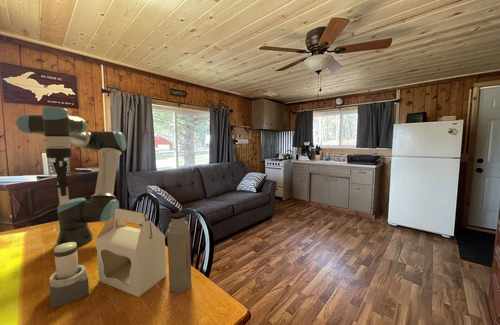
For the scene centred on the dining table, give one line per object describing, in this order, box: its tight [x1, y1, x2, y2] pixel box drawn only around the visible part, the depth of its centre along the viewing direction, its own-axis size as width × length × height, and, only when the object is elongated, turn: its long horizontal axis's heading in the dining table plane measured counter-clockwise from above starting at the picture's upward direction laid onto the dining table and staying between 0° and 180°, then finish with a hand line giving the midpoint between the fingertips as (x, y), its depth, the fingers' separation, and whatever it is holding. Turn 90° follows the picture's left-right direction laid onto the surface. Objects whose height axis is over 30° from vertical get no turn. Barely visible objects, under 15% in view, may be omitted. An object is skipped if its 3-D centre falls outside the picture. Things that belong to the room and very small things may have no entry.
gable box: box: [95, 207, 167, 298], centre depth 84 cm, size 22×13×28 cm, turn 67°
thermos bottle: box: [166, 212, 192, 294], centre depth 80 cm, size 8×8×28 cm
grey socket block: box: [48, 264, 90, 310], centre depth 77 cm, size 10×10×8 cm
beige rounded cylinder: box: [53, 242, 79, 280], centre depth 76 cm, size 6×6×12 cm
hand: (63, 200), depth 87 cm, fingers open, 13 cm apart
